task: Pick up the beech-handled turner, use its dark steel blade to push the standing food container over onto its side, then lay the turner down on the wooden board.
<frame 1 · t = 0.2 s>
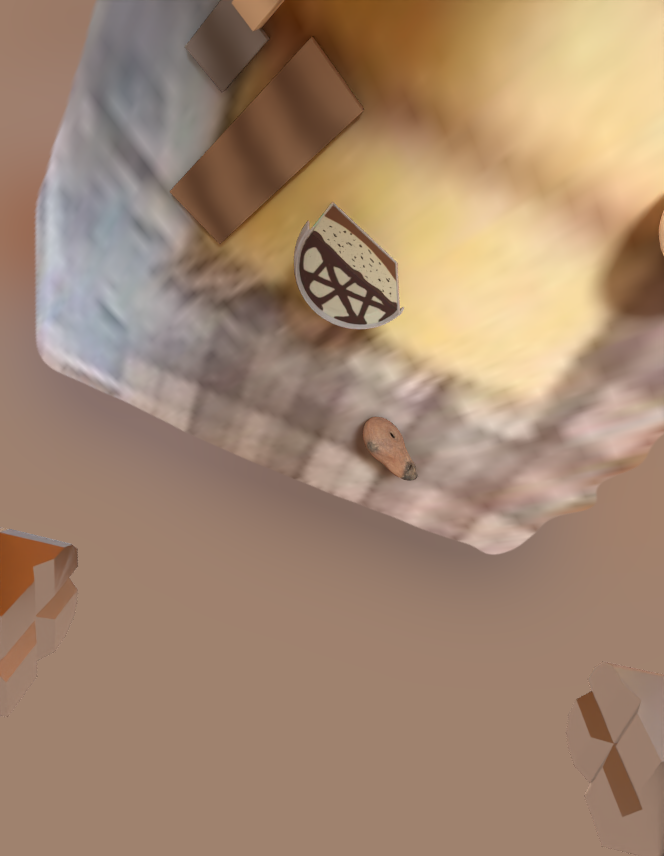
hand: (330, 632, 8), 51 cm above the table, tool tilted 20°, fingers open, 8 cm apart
food container: (346, 252, 58), on the table
wooden board: (261, 151, 52), on the table
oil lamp: (392, 427, 74), on the table
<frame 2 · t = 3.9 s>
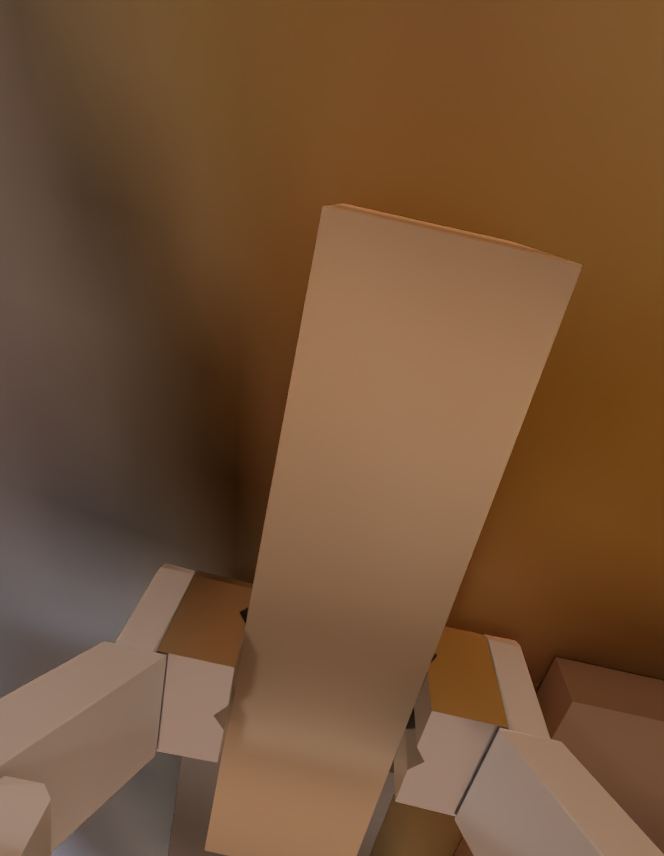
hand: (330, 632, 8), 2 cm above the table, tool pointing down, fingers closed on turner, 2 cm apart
turner: (318, 639, 11), on the table, touching gripper
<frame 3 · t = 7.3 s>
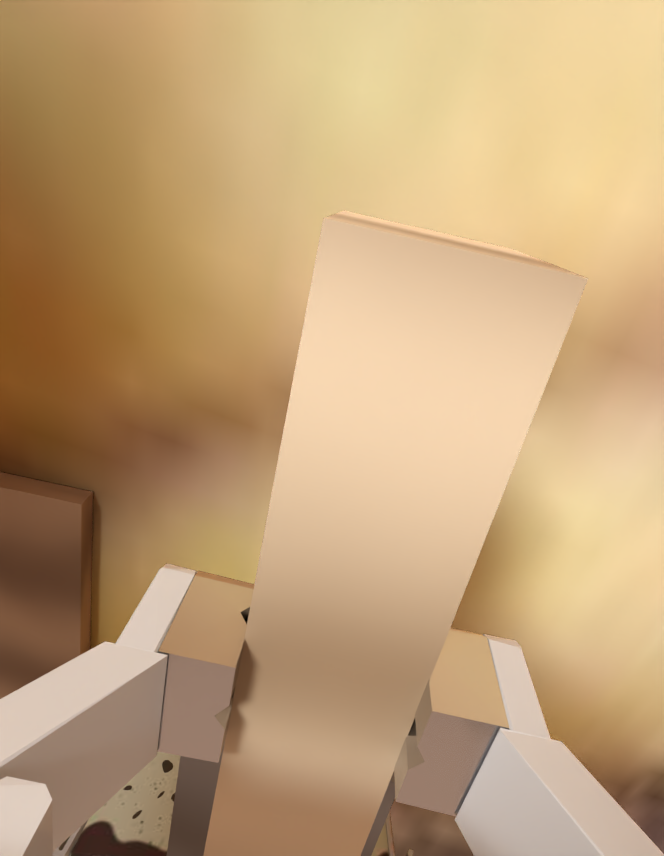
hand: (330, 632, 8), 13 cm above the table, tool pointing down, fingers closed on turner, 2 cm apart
food container: (275, 691, 27), on the table
wooden board: (21, 643, 27), on the table
turner: (317, 647, 11), point 11 cm above the table, touching gripper
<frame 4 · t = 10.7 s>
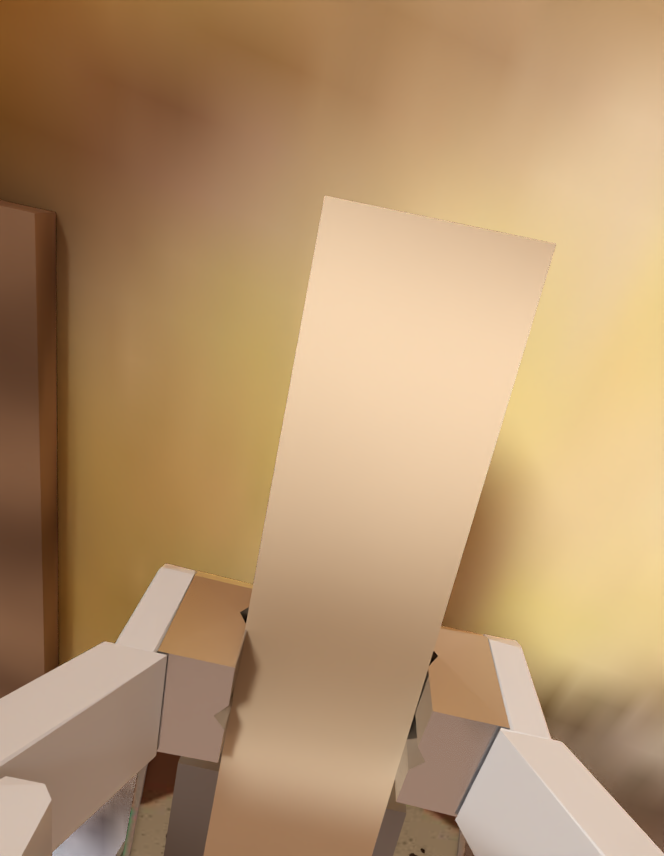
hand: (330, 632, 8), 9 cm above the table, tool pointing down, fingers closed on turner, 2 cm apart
food container: (319, 636, 18), point 2 cm above the table
turner: (317, 663, 11), point 8 cm above the table, tilted 8°, touching gripper
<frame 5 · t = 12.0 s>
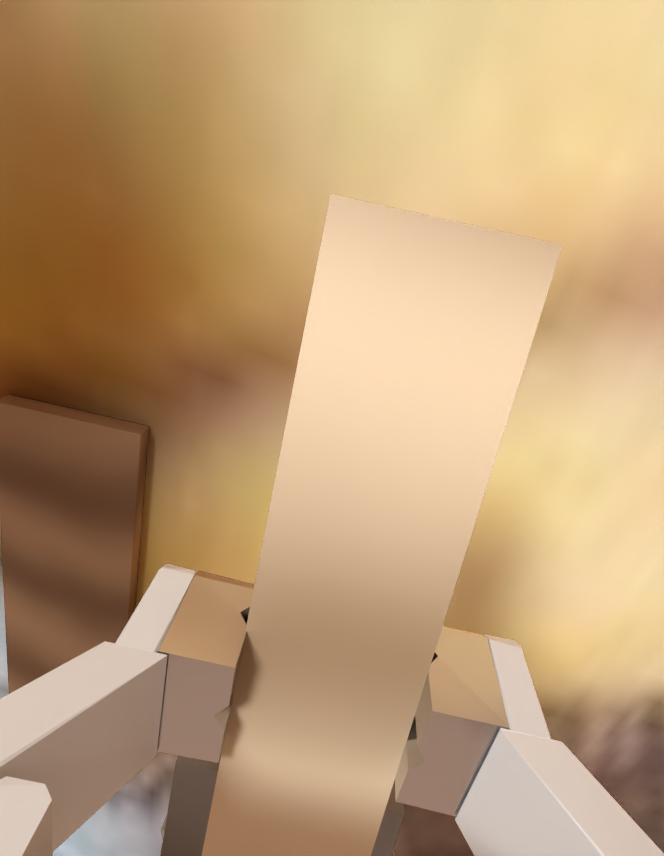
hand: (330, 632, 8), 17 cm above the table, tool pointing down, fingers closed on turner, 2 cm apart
wooden board: (75, 572, 30), on the table
turner: (316, 663, 10), point 15 cm above the table, tilted 8°, touching gripper
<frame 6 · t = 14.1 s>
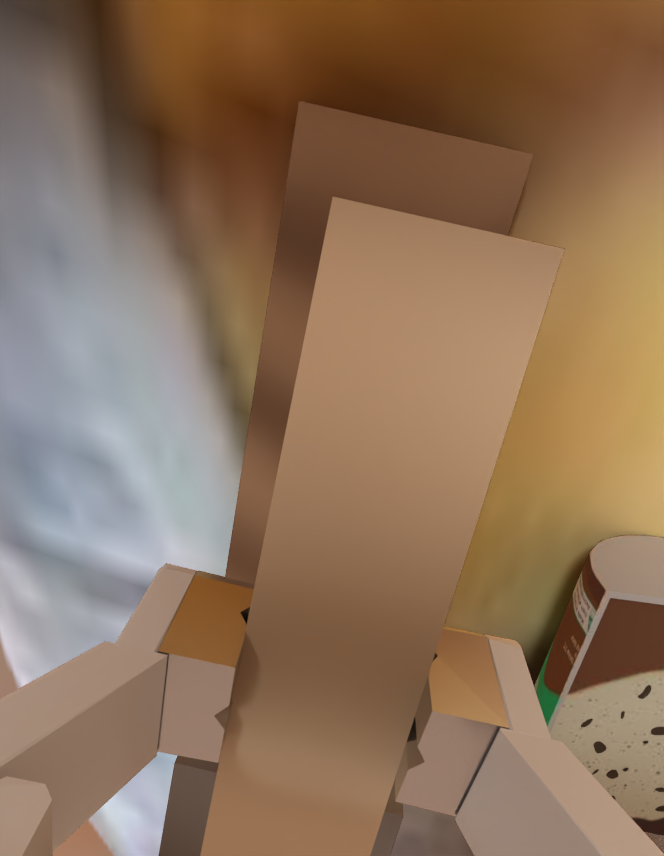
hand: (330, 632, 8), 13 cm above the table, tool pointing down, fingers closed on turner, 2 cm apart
wooden board: (345, 422, 21), on the table
turner: (315, 665, 10), point 11 cm above the table, tilted 8°, touching gripper
when the fingers open (4 cm above the table, at t = 15.7 s): turner drops 2 cm, resting on wooden board.
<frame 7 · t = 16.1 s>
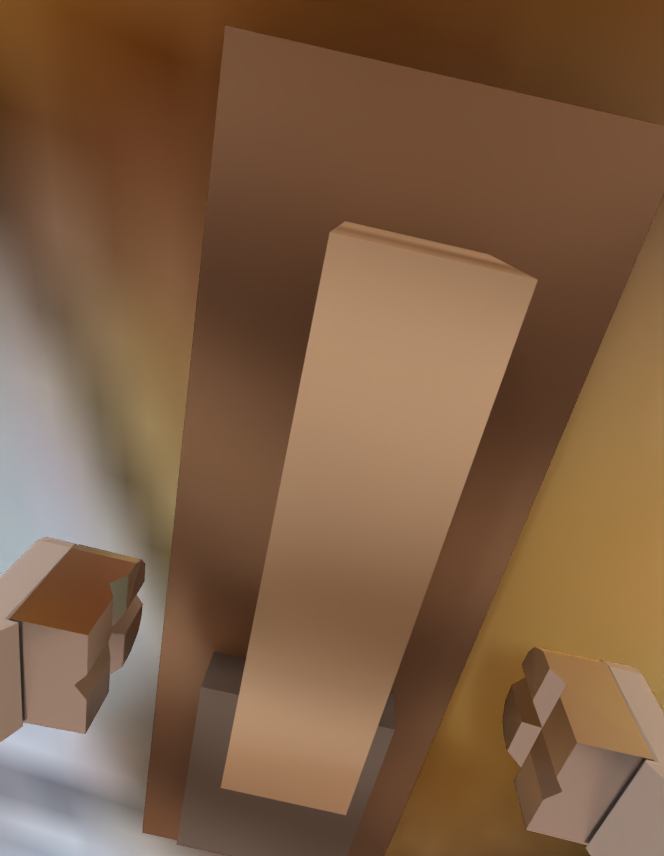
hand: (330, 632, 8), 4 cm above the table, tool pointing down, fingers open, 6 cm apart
wooden board: (328, 571, 13), on the table
turner: (320, 608, 12), point 1 cm above the table, touching wooden board
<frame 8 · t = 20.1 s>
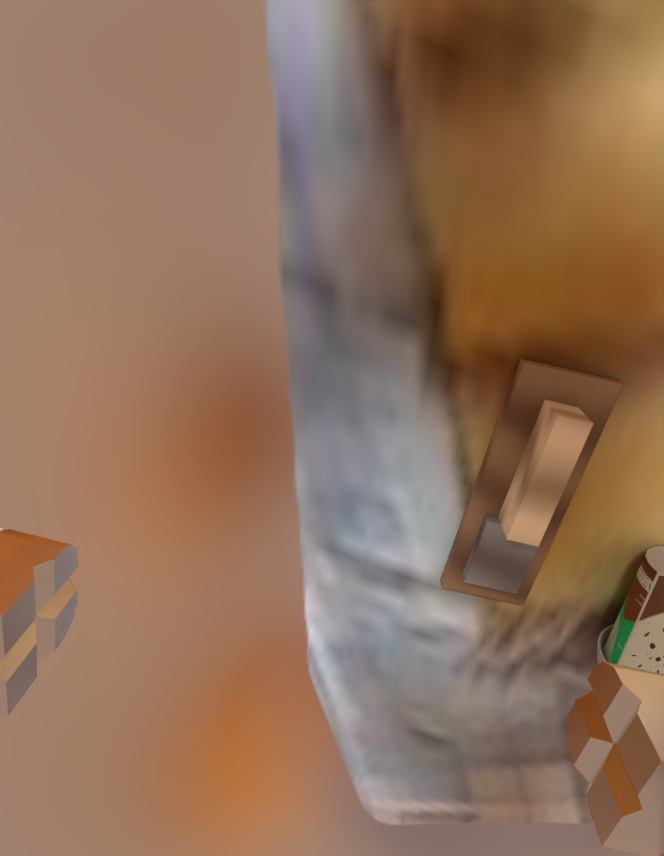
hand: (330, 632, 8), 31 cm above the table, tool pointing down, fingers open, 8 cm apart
wooden board: (520, 489, 42), on the table
turner: (521, 498, 41), point 1 cm above the table, touching wooden board
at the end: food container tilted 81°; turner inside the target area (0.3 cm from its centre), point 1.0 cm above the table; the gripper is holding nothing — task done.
